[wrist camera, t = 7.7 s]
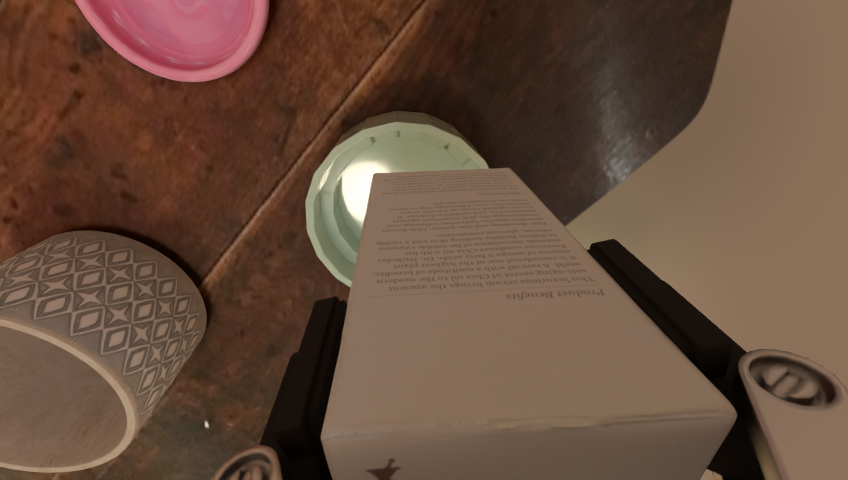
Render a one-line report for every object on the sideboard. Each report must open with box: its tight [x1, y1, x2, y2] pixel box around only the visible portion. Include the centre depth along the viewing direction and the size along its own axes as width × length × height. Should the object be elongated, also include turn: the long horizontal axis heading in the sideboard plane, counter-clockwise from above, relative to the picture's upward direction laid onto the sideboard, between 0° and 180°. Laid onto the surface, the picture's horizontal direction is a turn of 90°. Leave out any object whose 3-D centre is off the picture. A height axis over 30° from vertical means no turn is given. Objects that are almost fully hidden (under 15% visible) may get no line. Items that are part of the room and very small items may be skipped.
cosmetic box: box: [321, 168, 737, 480], centre depth 11 cm, size 6×4×12 cm
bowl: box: [305, 111, 489, 287], centre depth 31 cm, size 15×15×6 cm
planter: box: [0, 231, 207, 472], centre depth 31 cm, size 16×16×13 cm
